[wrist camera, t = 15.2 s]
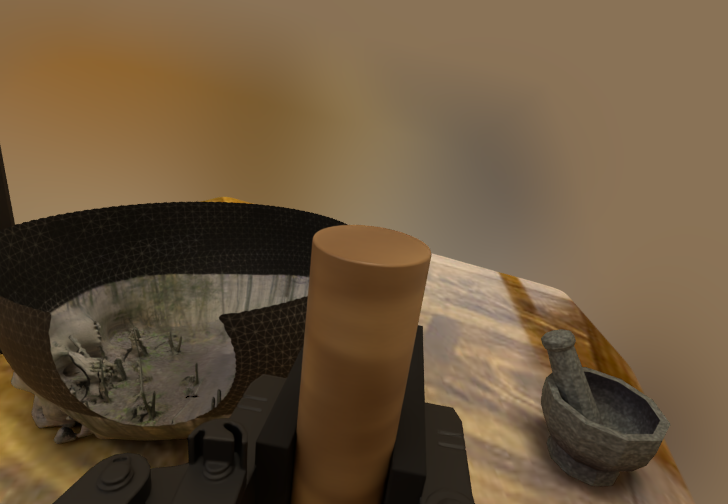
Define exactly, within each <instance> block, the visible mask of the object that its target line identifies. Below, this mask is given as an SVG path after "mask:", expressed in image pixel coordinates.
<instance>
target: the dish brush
mask: <svg viewBox="0 0 728 504" xmlns="http://www.w3.org/2000/svg"><path fill="white" fill-rule="evenodd" d="M430 260H431V251H430V249H429V247H428V246H427V245H426V244H425V243H423V242H422V241H420V240H418V239H417V238H414V237H412V236H410V235H407V234H404V233H402V232H398V231H395V230H390V229H386V228H380V227H374V226H365V225H340V226H333V227H328V228H324V229H322V230H320V231H318V232H317V233H316V234H315V235H314V237H313V240H312V252H311V264H310V276H309V288H308V300H307V312H306V324H305V335H304V347H303V359H302V371H301V383H300V395H299V407H298V418H297V430H296V442H295V454H294V466H293V478H292V490H291V502H290V504H383V500H384V495H385V490H386V484H387V479H388V474H389V469H390V463H391V458H392V453H393V448H394V444H395V441H396V435H397V430H398V425H399V420H400V415H401V409H402V404H403V399H404V394H405V389H406V384H407V378H408V373H409V368H410V363H411V358H412V353H413V347H414V342H415V337H416V332H417V327H418V322H419V316H420V311H421V306H422V301H423V296H424V291H425V285H426V280H427V275H428V270H429V265H430Z"/></svg>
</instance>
